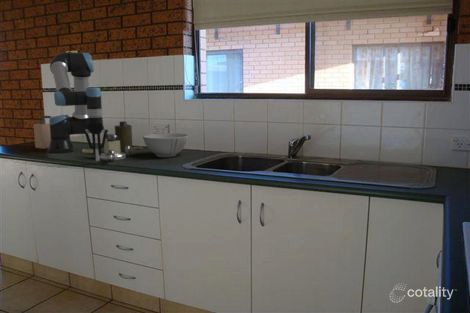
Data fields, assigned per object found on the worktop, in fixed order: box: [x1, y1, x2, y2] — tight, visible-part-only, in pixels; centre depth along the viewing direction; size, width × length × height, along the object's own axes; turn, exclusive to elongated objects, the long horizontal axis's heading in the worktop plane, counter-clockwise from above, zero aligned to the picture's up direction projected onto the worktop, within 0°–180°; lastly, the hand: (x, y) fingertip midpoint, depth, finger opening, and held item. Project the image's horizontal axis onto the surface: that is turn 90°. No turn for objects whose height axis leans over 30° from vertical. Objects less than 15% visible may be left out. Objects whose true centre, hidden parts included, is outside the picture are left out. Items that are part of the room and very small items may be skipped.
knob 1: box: [108, 150, 116, 162], centre depth 233 cm, size 12×3×6 cm, turn 13°
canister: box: [114, 120, 134, 155], centre depth 262 cm, size 11×10×20 cm
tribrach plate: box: [99, 133, 127, 162], centre depth 247 cm, size 15×15×14 cm
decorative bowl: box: [142, 132, 189, 158], centre depth 255 cm, size 27×27×12 cm
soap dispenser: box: [32, 115, 52, 149], centre depth 293 cm, size 13×9×22 cm
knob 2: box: [125, 145, 144, 157], centre depth 257 cm, size 12×3×6 cm, turn 133°
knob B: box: [81, 146, 98, 159], centre depth 251 cm, size 12×3×6 cm, turn 73°
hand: (97, 160), depth 230 cm, fingers closed
